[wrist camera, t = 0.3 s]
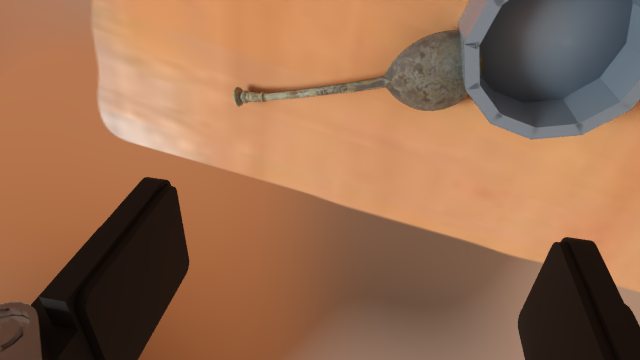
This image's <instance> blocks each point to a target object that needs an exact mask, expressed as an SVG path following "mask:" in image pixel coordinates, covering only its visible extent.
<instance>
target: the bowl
mask: <svg viewBox="0 0 640 360" xmlns="http://www.w3.org/2000/svg"><path fill="white" fill-rule="evenodd" d="M458 31H460V40H461V56H462V77H463V81H464V85H465V90H466V91H467V93H468V94H469V95H470V97H471V98H472V99H473V101H474V102H475V103H476V105H477V106H478V108H479V109H480V110H481V112H482V113H483V114H484V116H485V117H486V118H487V120H488V121H489V123H490V124H493V125H495V126H498V127H501V128H503V129H506V130H508V131H511V132H513V133H516V134H519V135H521V136H524V137H526V138H529V139H542V138H554V137H565V136H577V135H583V134H585V133H587V132H588V131H590V130H592V129H594V128H596V127H598V126H600V125H602V124H604V123H606V122H608V121H610V120H612V119H614V118H616V117H618V116H620V115H622V114H624V113H626V112H628V111H630V110H631V109H632V108H633V107H634V106H635V104H636V103H637V102H638V101H639V100H640V0H469V2H468V4H467V6H466V8H465V10H464V12H463V14H462V16H461V18H460V20H459V22H458ZM479 47H480V50H481V54H482V60H483V67H482V73H481V74H480V67H479Z"/></svg>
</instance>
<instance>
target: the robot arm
mask: <svg viewBox="0 0 640 360" xmlns="http://www.w3.org/2000/svg"><path fill="white" fill-rule="evenodd" d="M188 266H189V257H188V251H187V245H186V240H185V234H184V228H183V223H182V217H181V212H180V206H179V200H178V195H177V190H176V188H175V187H173V186H171V184H170V182H169V181H168V180H164V179H157V178H150V177H146V178H144V179H143V180H141V182H140V183H139V184H138V185H137V186H136V187H135V188H134V189H133V191H132V192H131V193H130V194H129V195H128V197H126V199H125V200H124V201H123V202H122V203H121V204H120V205H119V206H118V208H117V209H116V210H115V211H114V212H113V213H112V215H111V216H110V217H109V218H108V219H107V220H106V221H105V222H104V223H103V225H102V226H101V227H100V228H98V230H97V231H96V232H95V233H94V234H93V235H92V236H91V237H90V239H89V240H88V241H87V242H86V243H85V244H84V246H83V247H82V248H81V249H80V250H79V251H78V252H77V253H76V255H75V256H74V257H73V258H72V259H71V260H70V261H69V262H68V264H67V265H66V266H65V267H64V268H63V269H62V270H61V271H60V273H59V274H58V275H57V276H56V277H55V278H54V279H53V281H52V282H51V283H50V284H49V285H48V286H47V287H46V289H45V290H44V291H43V292H42V293H41V294H40V295H39V297H38V298H37V299H36V300H35V301H34V302H33V303H32V304H31V305H29V304H25V303H22V302H9V303H4V304H0V360H138V358H139V356H140V355H141V353H142V351H143V349H144V348H145V346H146V344H147V342H148V341H149V339H150V337H151V335H152V333H153V332H154V330H155V328H156V326H157V325H158V323H159V321H160V319H161V317H162V316H163V314H164V312H165V310H166V309H167V307H168V305H169V303H170V302H171V300H172V298H173V296H174V295H175V292H176V291H177V289H178V287H179V285H180V284H181V282H182V280H183V279H184V277H185V275H186V273H187V271H188ZM518 330H519V334H520V339H521V343H522V347H523V352H524V357H525V360H640V326H639V324H638V322H637V320H636V318H635V316H634V314H633V312H632V311H631V309H630V308H629V307H628V306H627V305H626V304H624V302H623V300H622V298H621V296H620V294H619V292H618V289H617V287H616V285H615V283H614V281H613V279H612V277H611V275H610V273H609V271H608V269H607V267H606V265H605V263H604V260H603V258H602V256H601V254H600V252H599V250H598V248H597V246H596V244H595V243H594V242H593V241H589V240H582V239H576V238H569V237H566V238H564V239H562V241H561V242H555V243H554V244H553V245H552V247H551V249H550V251H549V253H548V255H547V257H546V259H545V262H544V264H543V266H542V268H541V270H540V272H539V274H538V277H537V279H536V281H535V283H534V285H533V287H532V289H531V291H530V293H529V295H528V297H527V300H526V302H525V304H524V306H523V308H522V310H521V312H520V315H519V318H518Z"/></svg>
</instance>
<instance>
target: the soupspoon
mask: <svg viewBox="0 0 640 360" xmlns="http://www.w3.org/2000/svg"><path fill="white" fill-rule="evenodd" d="M479 67H480V74H481V73H482V67H483V60H482V54H481V50H480V47H479ZM384 87H386V88H387V89H388V90H389V91H390V92H391V94H392V95H393V96H394V97H395V98H396V99H398V100H399V101H400V102H402V103H403V104H405V105H407V106H409V107H412V108H414V109H417V110H424V111H436V110H441V109H445V108H448V107H451V106H453V105H456V104H458V103H459V102H461V101H462V100H463V99H464V98H466V97H467V96H468V95H469V94H468V93H467V91H466V90H465V85H464V81H463V77H462V56H461V40H460V31H445V32H439V33H435V34H432V35H429V36H426V37H424V38H422V39H420V40H418V41H417V42H415V43H413V44H412V45H410V46H409V47H408V48H406V49H405V50H404V51H403V52H402V53H401V54H400V55H399V56H398V57H397V58H396V59H395V60H394V61H393V62H392V64H391V65H390V67H389V68H388V70H387V72H386V74H385V76H382V77H378V78H374V79H369V80H363V81H357V82H351V83H345V84H338V85H331V86H324V87H317V88H311V89H303V90H295V91H285V92H276V93H269V94H267V93H265V92H261V93H260V94H258V93H257V92H249V93H248V91H243V90H242V89H241V88H239V87H237V88H236V89H235V90H234V92H233V99H234V102H235V104H236V105H237V106H241V105H242V104H243V103H248V102H256V101H259V100H261V101H262V102H265V101H266V100H280V99H293V98H303V97H312V96H320V95H328V94H337V93H347V92H356V91H363V90H370V89H377V88H384Z"/></svg>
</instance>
